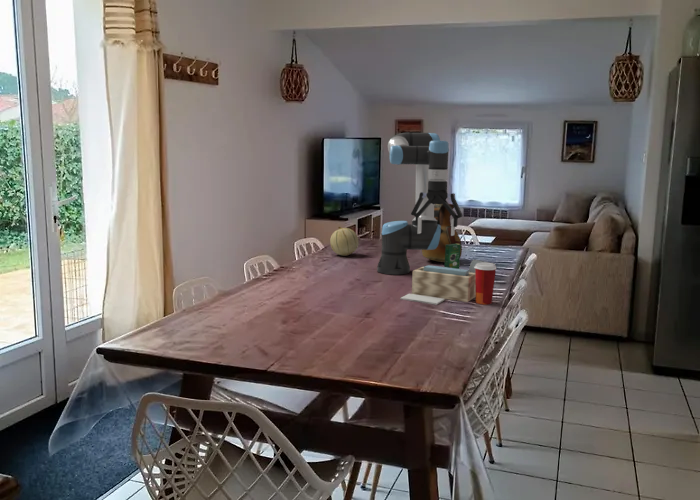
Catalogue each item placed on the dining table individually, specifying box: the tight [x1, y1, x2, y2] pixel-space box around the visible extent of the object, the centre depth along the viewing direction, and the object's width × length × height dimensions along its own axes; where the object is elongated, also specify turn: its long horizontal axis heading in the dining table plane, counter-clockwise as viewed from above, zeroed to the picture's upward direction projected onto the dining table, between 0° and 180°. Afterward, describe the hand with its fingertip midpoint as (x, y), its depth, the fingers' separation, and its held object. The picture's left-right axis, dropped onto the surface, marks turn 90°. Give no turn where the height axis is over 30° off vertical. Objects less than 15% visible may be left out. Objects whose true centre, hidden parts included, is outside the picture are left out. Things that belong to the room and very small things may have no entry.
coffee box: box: [443, 243, 462, 269], centre depth 302 cm, size 8×3×13 cm, turn 129°
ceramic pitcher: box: [421, 203, 463, 263], centre depth 324 cm, size 20×20×30 cm
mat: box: [400, 293, 446, 306], centre depth 251 cm, size 8×15×1 cm, turn 61°
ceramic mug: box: [468, 259, 488, 273], centre depth 293 cm, size 11×8×8 cm
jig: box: [411, 266, 476, 303], centre depth 257 cm, size 23×10×10 cm, turn 61°
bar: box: [423, 264, 469, 276], centre depth 256 cm, size 17×4×4 cm, turn 61°
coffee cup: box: [474, 262, 497, 306], centre depth 246 cm, size 8×8×15 cm
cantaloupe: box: [329, 226, 359, 257], centre depth 337 cm, size 15×15×15 cm
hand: (435, 234), depth 257 cm, fingers open, 13 cm apart
